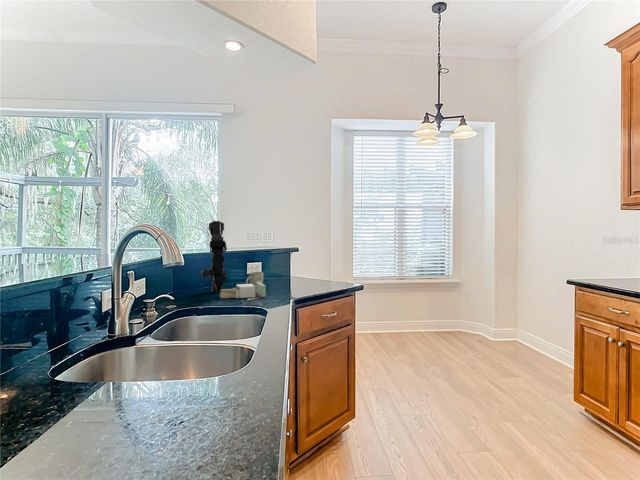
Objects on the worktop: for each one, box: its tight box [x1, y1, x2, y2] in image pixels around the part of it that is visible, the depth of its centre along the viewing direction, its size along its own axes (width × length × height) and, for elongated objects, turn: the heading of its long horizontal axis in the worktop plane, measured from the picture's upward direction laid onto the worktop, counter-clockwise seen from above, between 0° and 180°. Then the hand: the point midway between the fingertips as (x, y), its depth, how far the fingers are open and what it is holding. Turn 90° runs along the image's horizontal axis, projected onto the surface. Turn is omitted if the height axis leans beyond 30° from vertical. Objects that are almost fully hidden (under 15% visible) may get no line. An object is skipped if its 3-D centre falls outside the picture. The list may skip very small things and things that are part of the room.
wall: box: [255, 282, 267, 298], centre depth 201 cm, size 14×2×6 cm, turn 23°
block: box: [232, 283, 256, 299], centre depth 197 cm, size 10×10×6 cm
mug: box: [245, 271, 264, 292], centre depth 215 cm, size 8×13×10 cm, turn 148°
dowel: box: [219, 288, 239, 299], centre depth 195 cm, size 4×12×4 cm, turn 113°
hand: (218, 293), depth 192 cm, fingers closed, pressing on dowel
